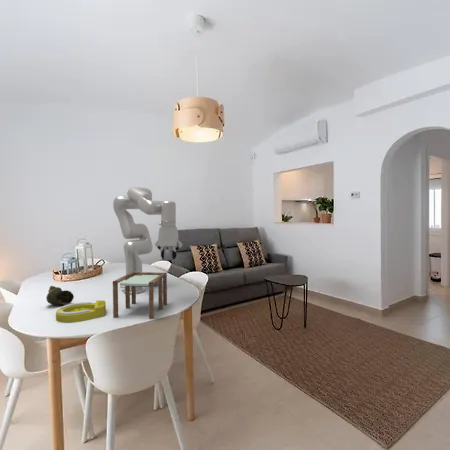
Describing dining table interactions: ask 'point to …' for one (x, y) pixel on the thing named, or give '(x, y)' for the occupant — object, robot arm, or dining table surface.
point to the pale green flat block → (139, 281)
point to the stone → (168, 254)
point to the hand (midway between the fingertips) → (168, 258)
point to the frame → (161, 293)
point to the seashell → (59, 296)
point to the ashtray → (80, 311)
